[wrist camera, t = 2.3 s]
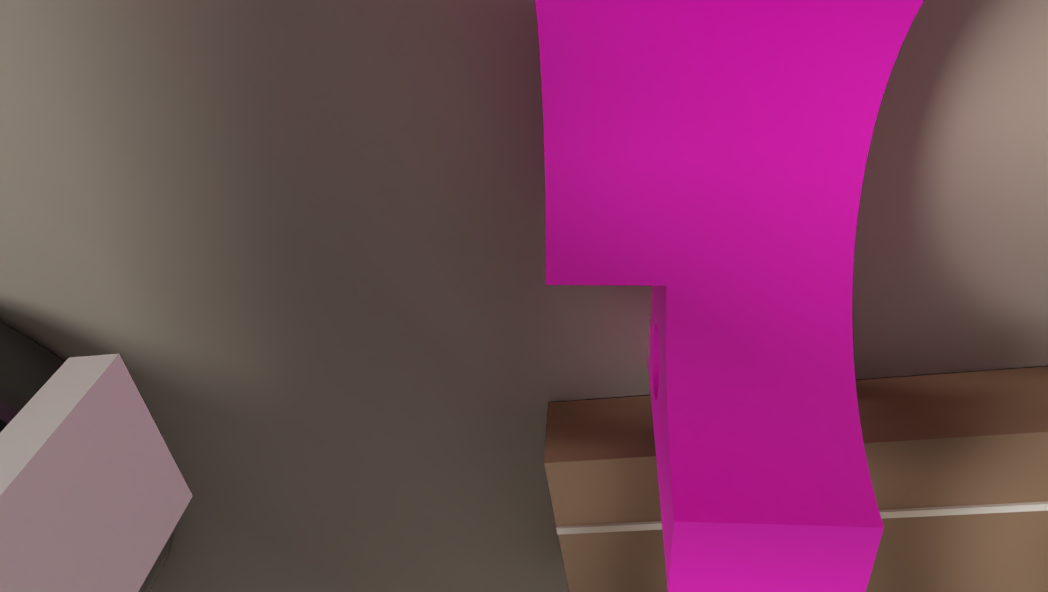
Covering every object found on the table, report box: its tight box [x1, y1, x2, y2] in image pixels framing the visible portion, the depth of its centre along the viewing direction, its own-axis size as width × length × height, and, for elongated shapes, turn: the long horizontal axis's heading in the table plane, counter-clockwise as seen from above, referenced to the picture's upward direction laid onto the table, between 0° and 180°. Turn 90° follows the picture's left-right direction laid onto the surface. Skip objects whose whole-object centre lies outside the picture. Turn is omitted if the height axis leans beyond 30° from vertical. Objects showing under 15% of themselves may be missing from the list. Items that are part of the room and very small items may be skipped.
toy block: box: [535, 0, 924, 592], centre depth 15 cm, size 15×6×8 cm, turn 2°
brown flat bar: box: [544, 366, 1048, 592], centre depth 23 cm, size 17×7×2 cm, turn 99°
